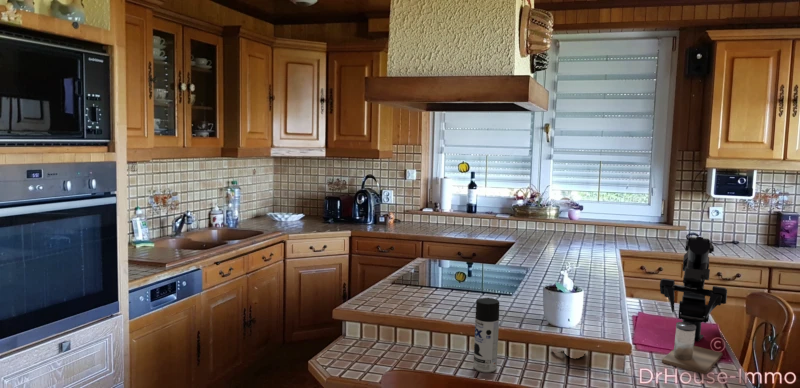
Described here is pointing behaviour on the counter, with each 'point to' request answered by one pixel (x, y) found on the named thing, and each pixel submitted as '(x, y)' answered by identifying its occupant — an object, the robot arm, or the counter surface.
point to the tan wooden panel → (695, 360)
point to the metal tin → (684, 341)
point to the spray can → (486, 335)
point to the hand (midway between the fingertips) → (689, 314)
